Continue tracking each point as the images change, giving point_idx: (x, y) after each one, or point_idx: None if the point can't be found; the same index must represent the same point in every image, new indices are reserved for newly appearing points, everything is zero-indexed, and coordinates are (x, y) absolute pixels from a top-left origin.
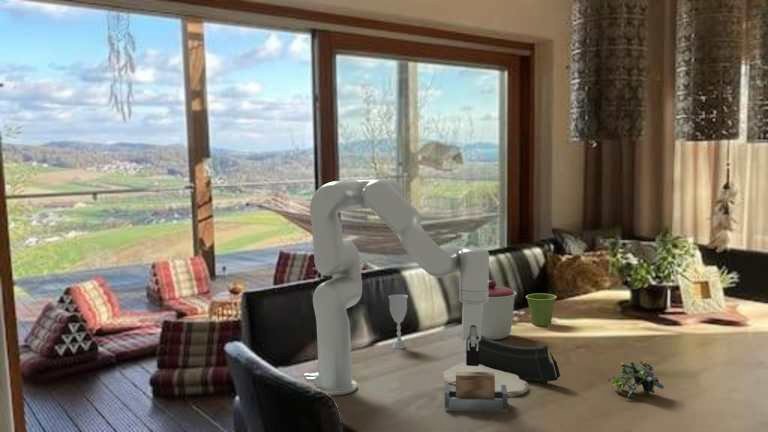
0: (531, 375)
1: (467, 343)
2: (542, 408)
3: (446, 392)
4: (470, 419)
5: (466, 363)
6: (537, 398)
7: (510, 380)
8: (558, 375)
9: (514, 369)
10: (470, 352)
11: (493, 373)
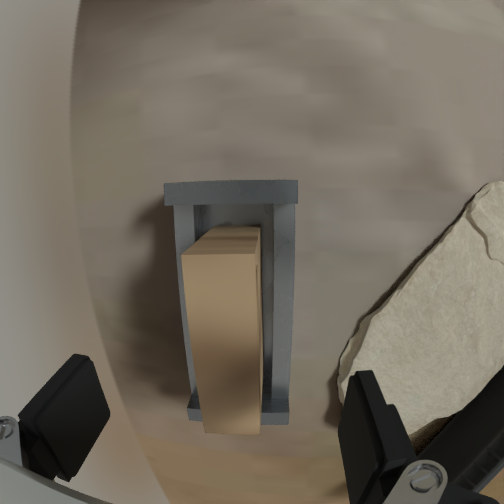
0: (443, 440)
1: (368, 442)
2: (243, 451)
3: (168, 191)
4: (125, 272)
5: (71, 359)
6: (318, 447)
7: (431, 400)
8: None
9: (488, 404)
10: (21, 426)
11: (238, 432)
